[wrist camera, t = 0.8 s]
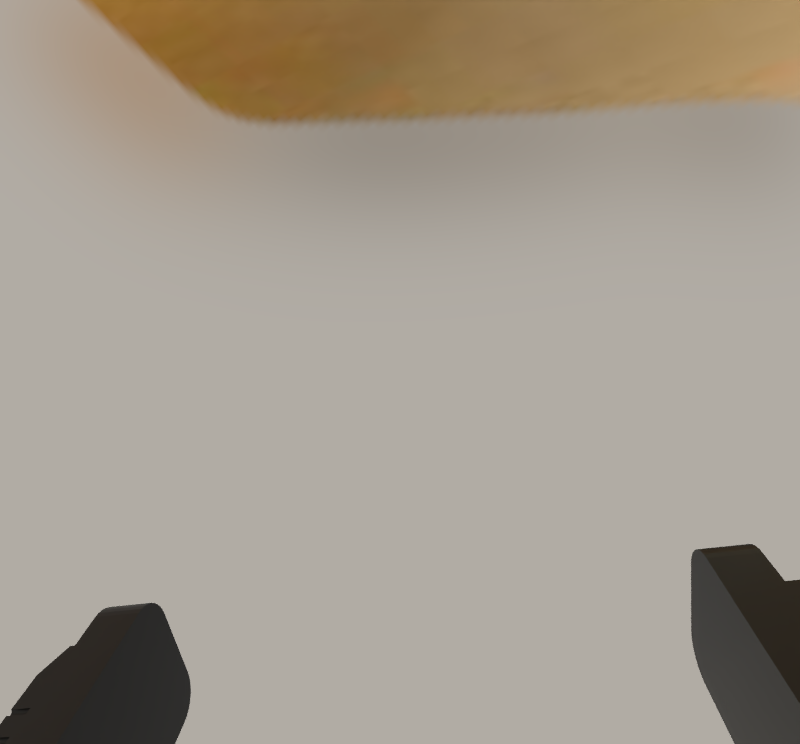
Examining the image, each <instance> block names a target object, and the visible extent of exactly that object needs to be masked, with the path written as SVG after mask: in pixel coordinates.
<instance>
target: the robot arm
mask: <svg viewBox="0 0 800 744" xmlns="http://www.w3.org/2000/svg"><path fill="white" fill-rule="evenodd" d="M691 614H692V615H691V623H692V626H691V628H692V629H691V631H692V641H693V648H694V652H695V656H696V660H697V663H698V667H699V670H700V672H701V675H702V678H703V680H704V682H705V684H706V686H707V688H708V690H709V692H710V695H711V697H712V699H713V701H714V703H715V704H716V707H717V709H718V711H719V713H720V715H721V717H722V719H723V721H724V723H725V725H726V727H727V729H728V731H729V733H730V735H731V737H732V739H733V741H734V743H735V744H800V580H793V581H784V580H783V578H782V577H781V576H780V574H779V573H778V572H777V571H776V569H775V568H774V567H773V566H772V564H771V563H770V562H769V561H768V559H767V558H766V557H765V555H764V554H763V553H762V552H761V550H760V549H759V548H757V547H756V546H755V545H753V544H746V545H736V546H726V547H717V548H706V549H698V550H695V551H694V552H693V554H692V559H691ZM190 694H191V689H190V679H189V675H188V672H187V669H186V667H185V664H184V662H183V660H182V657H181V655H180V652H179V649H178V647H177V644H176V642H175V639H174V637H173V634H172V632H171V629H170V627H169V624H168V622H167V619H166V617H165V614H164V612H163V610H162V609H161V607H160V606H158V605H157V604H155V603H146V604H136V605H128V606H127V605H126V606H117V607H109V608H105V609H103V610H102V611H101V612H100V613H98V615H97V616H96V617H95V619H94V620H93V621H92V623H91V624H90V626H89V627H88V628H87V630H86V631H85V633H84V634H83V635H82V637H81V638H80V640H79V641H78V642H77V644H76V645H75V646H70V647H69V648H68V649H66V650H65V651H64V652H63V653H62V654H61V655H60V656H59V657H57V658H56V659H55V660H54V661H53V662H52V663H51V664H49V665H48V666H47V667H46V668H45V669H44V670H43V671H42V672H40V673H39V674H38V675H37V676H36V677H35V679H34V680H33V681H32V683H31V684H30V685H29V687H28V688H27V689H26V691H25V692H24V693H23V695H22V696H21V697H20V699H19V700H18V701H17V703H16V704H15V705H14V707H13V708H12V713H11V715H10V716H6V717H5V719H4V720H3V721H2V723H1V724H0V744H175V742H176V740H177V738H178V736H179V733H180V731H181V729H182V726H183V724H184V722H185V719H186V716H187V713H188V709H189V704H190Z"/></svg>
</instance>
